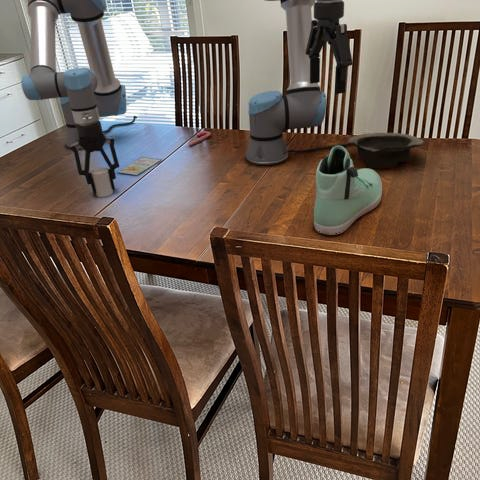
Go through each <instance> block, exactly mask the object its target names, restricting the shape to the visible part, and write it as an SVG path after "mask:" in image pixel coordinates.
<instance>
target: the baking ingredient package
mask: <svg viewBox="0 0 480 480" xmlns="http://www.w3.org/2000/svg"><path fill="white" fill-rule="evenodd" d="M160 161H161V159H154V158H148V157H140V158H138V159H137V160H135V161H133V162H132V163H130V164H129V165H127V166H124V167H123V168H121V169H120V170H118V171H117V173H120V174H128V175H133V176H134V175H135V176H137V175H139V174H140V173H142V172H144V171H146V170H147V169H149V168H150V167H152V166H153V165H156V164H158V162H160Z"/></svg>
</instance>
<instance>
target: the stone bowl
mask: <svg viewBox="0 0 480 480" xmlns="http://www.w3.org/2000/svg"><path fill="white" fill-rule="evenodd" d="M347 143H348V144H351V145H350V146H352V147H353V146H354V147H356V150H357V151H356V152H357V154H358V156H359V157H360V158H361V160H362V161H365V162H366V163H367V167H368V168H369V169H381V170H382V169H386V168H388V169H389V168H390V169H391V168H394V167H397V166H398V164H399V163H407V162H408V161H409V160H410V155H411V149H415V148H418V147H419V146H421V145H422V144H425V143H426V142H424V140H423V139H420V138H419V137H417V136H414V135H411V134H407V133H401V132H400V133H399V132H373V133H362V134H358V135H354V136H350V138H348V142H347Z"/></svg>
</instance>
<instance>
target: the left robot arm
mask: <svg viewBox="0 0 480 480" xmlns="http://www.w3.org/2000/svg"><path fill="white" fill-rule="evenodd" d="M107 9H108V5H107V0H28V2H27V14H28V16H29V18H30V60H29V61H30V70H29V72H30V74H27V75H23V76H22V78H21V81H20V82H21V84H20V85H21V89H22V92H23V95H24V96H25V98H26V99H27V100H29V101H44V100H50V99H59V105H60V108H61V113H62V116H63V119H64V123H65V126H66V133H65V144H66V148H68V149H70V150H72V152H73V155H74V159H75V164H76V168H77V173H78V175H79V176H84V177H85V180H86V184H87V185H89V186H90V187H91V189H92V193H93V195H96V191H95V187H94V183H93V179H92V175H91V172H90V165H91V164H90V163H91V153H94V152H99V153H100V154H101V156H102V158H103V159H104V161H105V163H106V165H107V166H108V172H109V176H110V180H111V185H112V189H113V191H115V190H116V186H115V181H114V180H116V179H117V175H116V171H115V170H116V169H117V168H120V164H119V159H118V155H117V152H116V148H115V141H116V140H115V138H114V136H112V135H111V136H106V135H105V133H109V132H110V131H111V129H112V128H115V127H118V126H119V127H120V126H129V125H132V124H133V123H135V121H136V119H138V117H137V116H136V115H133V117H132V118H133V119H132V120H131V121H129V122H123V123H115V124H111V125H110V126H109V127H108V128H107V129H106V130H103V127H102V122H101V120H100V119H101V118H105V117H114V116H115V117H117V116H121V115H125V114H126V113H127V92H126V90H127V89H126V85H124V84H121V81H120V79H118V78H117V77H116V76H115V71H114V67H113V63H112V58H111V55H110V51H109V46H108V42H107V38H106V35H105V30H104V25H103V21H102V19H103V18H104V16H105V11H107ZM67 14H70V19H71V20H72V21H73V22H74V23H76V24H77V27H78V31H79V34H80V39H81V41H82V46H83V49H84V53H85V56H86V60H87V63H88V64H87V65H88V67H75V68H70V69H67V70H65V71H57V63H56V61H57V59H56V56H57V55H56V51H57V50H56V49H57V48H56V47H57V46H56V23H57V21H58V20H59V15H67ZM105 143H107V145H108V146H109V149H110V153H111V156H112V160H113V162H111V160H110V158H109V157H108V155H107V153H106V151H105V150H104V148H103V147H104V144H105ZM79 150H84V169H83V168H82V164H81V158H80V154H79Z"/></svg>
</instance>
